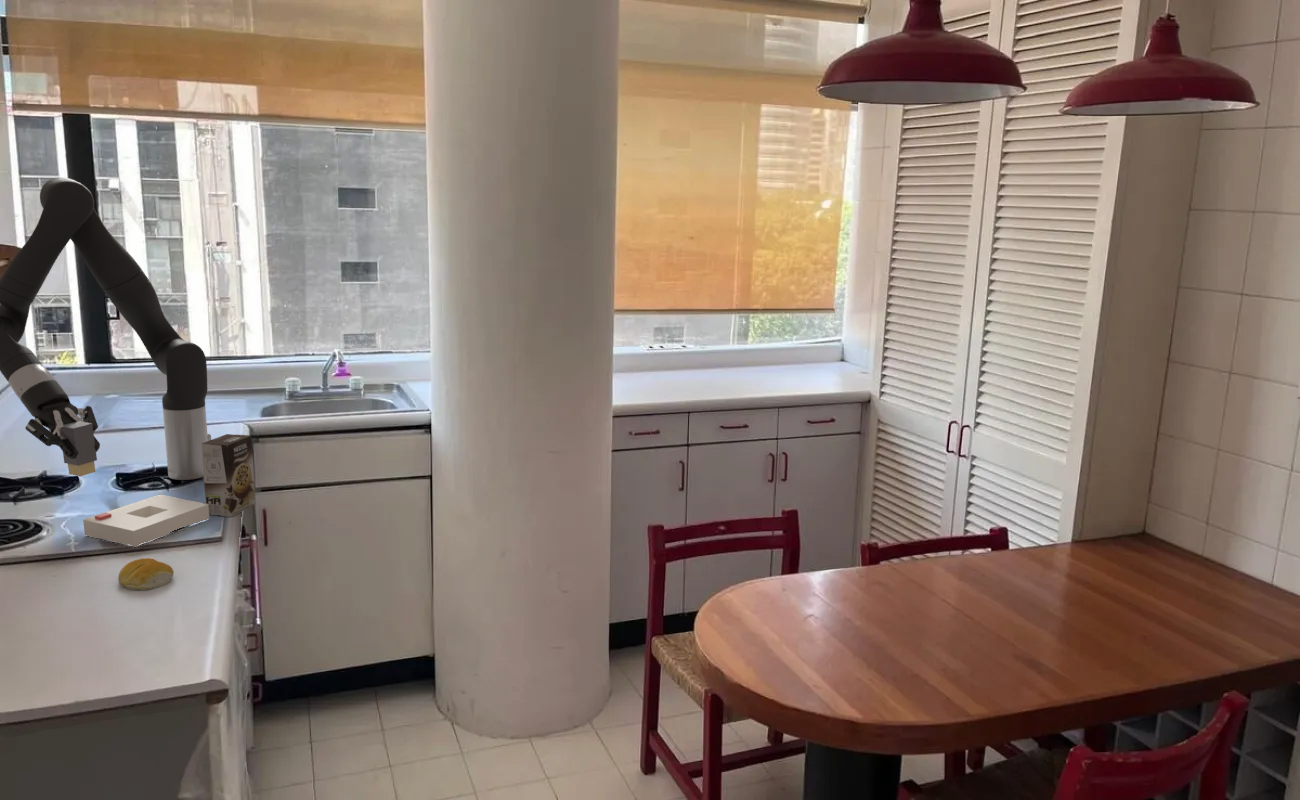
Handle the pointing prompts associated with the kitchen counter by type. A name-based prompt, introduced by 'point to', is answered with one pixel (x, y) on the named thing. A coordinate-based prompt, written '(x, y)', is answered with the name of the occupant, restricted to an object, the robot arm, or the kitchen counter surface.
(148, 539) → the socket plate
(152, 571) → the bread roll
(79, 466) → the plug
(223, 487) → the coffee box
